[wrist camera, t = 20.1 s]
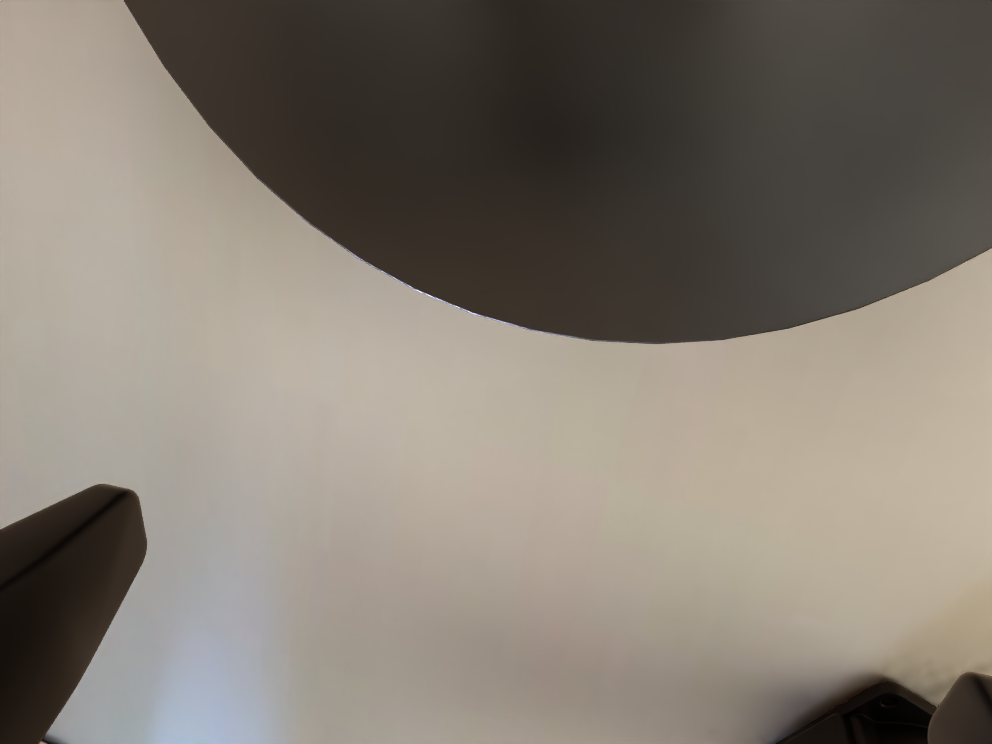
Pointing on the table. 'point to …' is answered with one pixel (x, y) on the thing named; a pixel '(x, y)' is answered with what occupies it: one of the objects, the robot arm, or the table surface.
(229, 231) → the table surface
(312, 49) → the lid
